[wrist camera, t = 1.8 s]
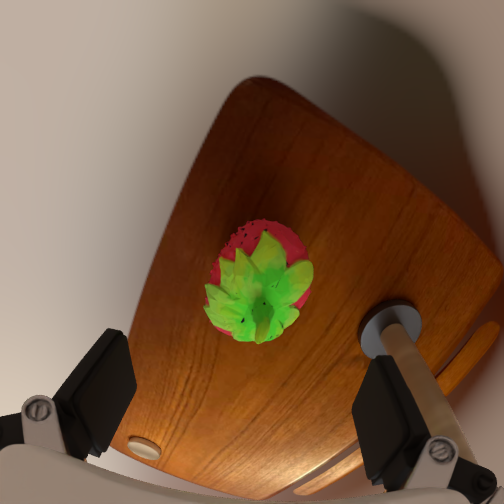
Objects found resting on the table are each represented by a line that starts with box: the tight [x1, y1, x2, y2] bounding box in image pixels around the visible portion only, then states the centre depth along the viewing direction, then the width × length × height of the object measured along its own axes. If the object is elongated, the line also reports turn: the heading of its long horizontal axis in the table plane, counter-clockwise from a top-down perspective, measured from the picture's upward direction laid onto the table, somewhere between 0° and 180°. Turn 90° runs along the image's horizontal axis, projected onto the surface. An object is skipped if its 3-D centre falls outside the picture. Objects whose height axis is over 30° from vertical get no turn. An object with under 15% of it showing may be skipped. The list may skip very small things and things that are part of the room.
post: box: [358, 299, 478, 465], centre depth 14 cm, size 6×6×20 cm
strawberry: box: [203, 218, 314, 344], centre depth 17 cm, size 6×7×10 cm
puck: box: [128, 437, 161, 460], centre depth 32 cm, size 5×5×1 cm
